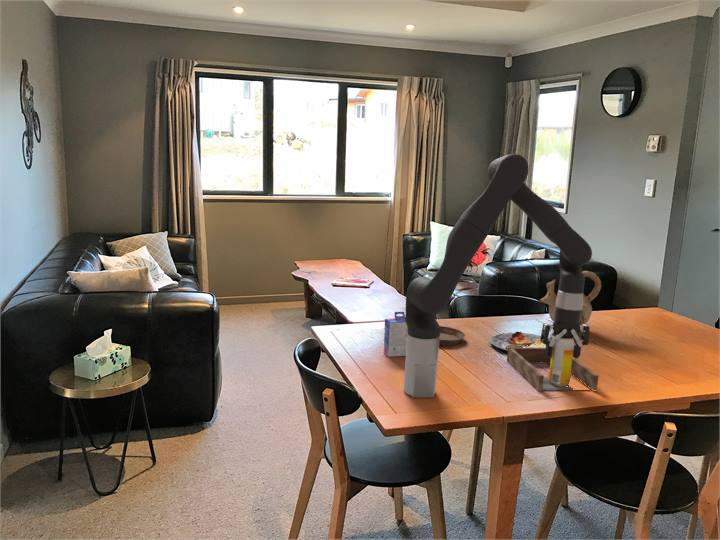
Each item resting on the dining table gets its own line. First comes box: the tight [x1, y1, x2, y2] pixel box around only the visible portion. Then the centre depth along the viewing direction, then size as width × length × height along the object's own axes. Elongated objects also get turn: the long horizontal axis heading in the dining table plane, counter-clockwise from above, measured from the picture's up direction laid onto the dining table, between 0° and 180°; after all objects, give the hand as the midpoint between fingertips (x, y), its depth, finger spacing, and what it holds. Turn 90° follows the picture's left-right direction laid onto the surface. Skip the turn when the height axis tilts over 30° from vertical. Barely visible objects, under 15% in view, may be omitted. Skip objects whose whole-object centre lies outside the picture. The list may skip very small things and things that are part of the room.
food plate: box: [488, 331, 546, 352], centre depth 212 cm, size 25×23×4 cm
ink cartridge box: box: [383, 311, 408, 358], centre depth 198 cm, size 10×6×14 cm, turn 109°
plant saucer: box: [439, 325, 466, 346], centre depth 217 cm, size 18×18×3 cm
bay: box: [506, 347, 600, 393], centre depth 185 cm, size 25×18×5 cm
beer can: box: [548, 336, 575, 386], centre depth 177 cm, size 6×6×15 cm
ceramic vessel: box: [539, 270, 602, 325], centre depth 235 cm, size 18×19×25 cm
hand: (562, 357), depth 177 cm, fingers open, 8 cm apart
